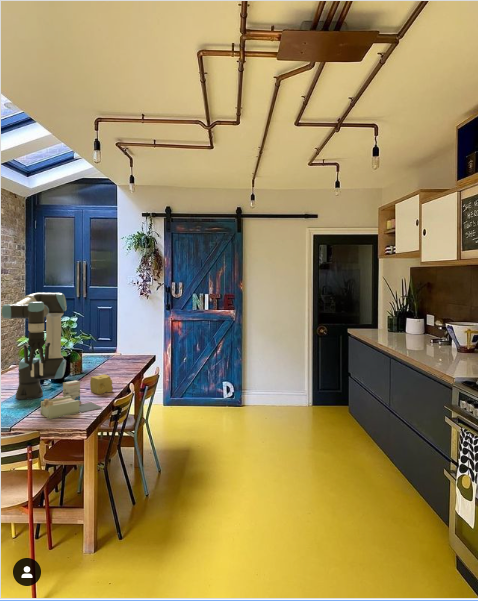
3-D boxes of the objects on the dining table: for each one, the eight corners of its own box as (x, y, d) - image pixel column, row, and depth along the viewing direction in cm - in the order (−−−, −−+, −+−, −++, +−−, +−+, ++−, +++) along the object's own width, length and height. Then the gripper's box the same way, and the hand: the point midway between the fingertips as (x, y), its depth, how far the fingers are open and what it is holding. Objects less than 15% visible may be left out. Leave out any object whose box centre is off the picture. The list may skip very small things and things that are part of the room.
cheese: (112, 391, 272) (112, 376, 272) (97, 394, 264) (97, 379, 264) (104, 388, 279) (104, 373, 279) (89, 391, 271) (89, 376, 271)
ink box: (76, 398, 255) (76, 379, 254) (80, 400, 252) (80, 381, 251) (62, 401, 248) (62, 382, 248) (66, 403, 245) (66, 383, 244)
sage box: (40, 413, 226) (40, 401, 226) (70, 407, 237) (70, 395, 237) (49, 419, 217) (49, 406, 217) (79, 412, 229) (79, 400, 228)
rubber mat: (71, 406, 239) (71, 406, 239) (91, 402, 247) (91, 402, 247) (81, 412, 229) (81, 411, 229) (102, 408, 237) (102, 407, 237)
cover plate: (42, 405, 225) (42, 398, 225) (70, 400, 236) (70, 393, 235) (49, 409, 219) (49, 402, 218) (77, 403, 229) (77, 397, 229)
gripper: (21, 333, 208) (22, 379, 209) (55, 330, 220) (56, 374, 221) (16, 331, 213) (17, 377, 214) (50, 329, 225) (50, 372, 226)
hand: (36, 375), depth 218 cm, fingers open, 4 cm apart
